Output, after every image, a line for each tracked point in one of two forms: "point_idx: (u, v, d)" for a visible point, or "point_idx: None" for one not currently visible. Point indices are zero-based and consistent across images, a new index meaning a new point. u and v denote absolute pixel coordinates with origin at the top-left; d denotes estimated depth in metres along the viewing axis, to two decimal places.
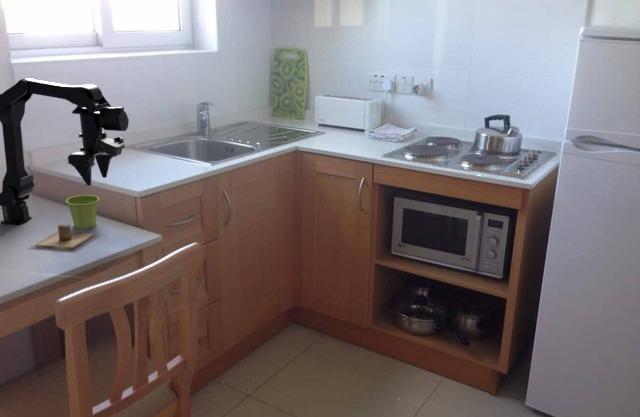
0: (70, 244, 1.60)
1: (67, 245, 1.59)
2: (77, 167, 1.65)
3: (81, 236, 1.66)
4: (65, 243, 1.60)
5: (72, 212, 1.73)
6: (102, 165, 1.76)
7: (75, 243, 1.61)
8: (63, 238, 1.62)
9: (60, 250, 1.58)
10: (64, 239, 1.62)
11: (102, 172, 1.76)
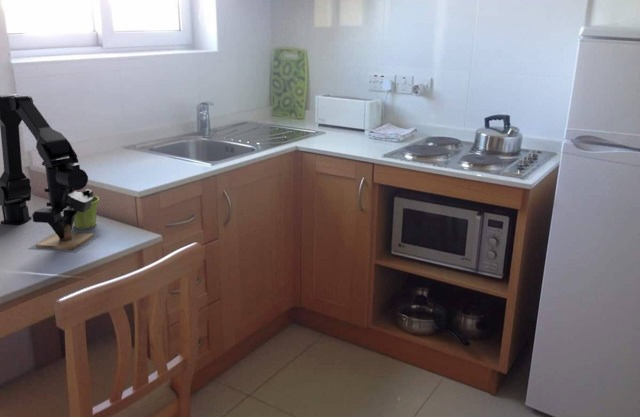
0: (70, 244, 1.60)
1: (67, 245, 1.59)
2: None
3: (81, 236, 1.66)
4: (65, 243, 1.60)
5: None
6: (66, 221, 1.64)
7: (75, 243, 1.61)
8: (63, 238, 1.62)
9: (60, 250, 1.58)
10: (64, 239, 1.62)
11: None
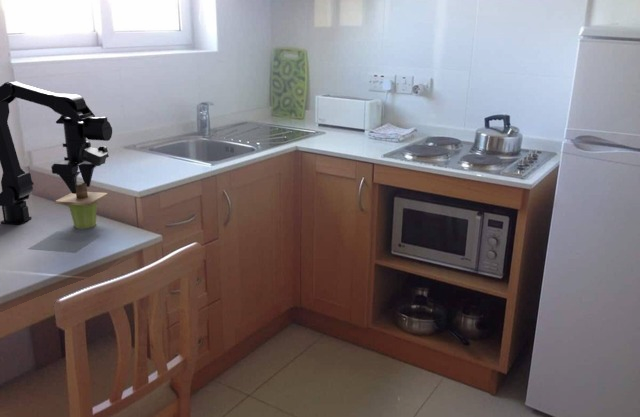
0: (86, 201, 1.71)
1: (84, 201, 1.70)
2: (62, 176, 1.67)
3: (96, 195, 1.77)
4: (82, 200, 1.71)
5: (72, 212, 1.73)
6: (85, 174, 1.77)
7: (92, 200, 1.72)
8: (80, 196, 1.73)
9: (60, 250, 1.58)
10: (81, 197, 1.73)
11: (85, 181, 1.77)
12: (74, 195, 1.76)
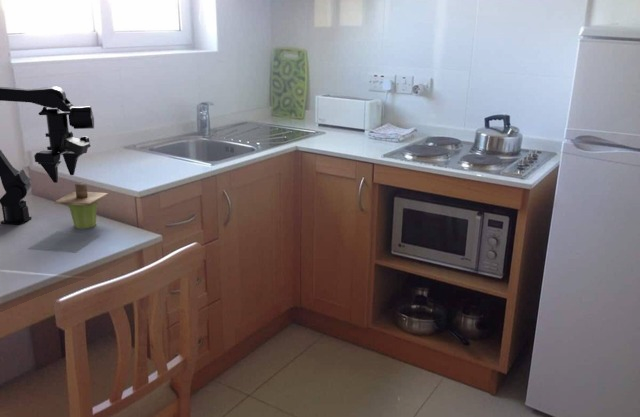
0: (86, 201, 1.71)
1: (84, 201, 1.70)
2: (44, 165, 1.73)
3: (96, 195, 1.77)
4: (81, 200, 1.71)
5: (72, 212, 1.73)
6: (69, 163, 1.84)
7: (91, 200, 1.72)
8: (80, 196, 1.73)
9: (60, 250, 1.58)
10: (81, 197, 1.73)
11: (70, 170, 1.84)
12: (74, 195, 1.76)
